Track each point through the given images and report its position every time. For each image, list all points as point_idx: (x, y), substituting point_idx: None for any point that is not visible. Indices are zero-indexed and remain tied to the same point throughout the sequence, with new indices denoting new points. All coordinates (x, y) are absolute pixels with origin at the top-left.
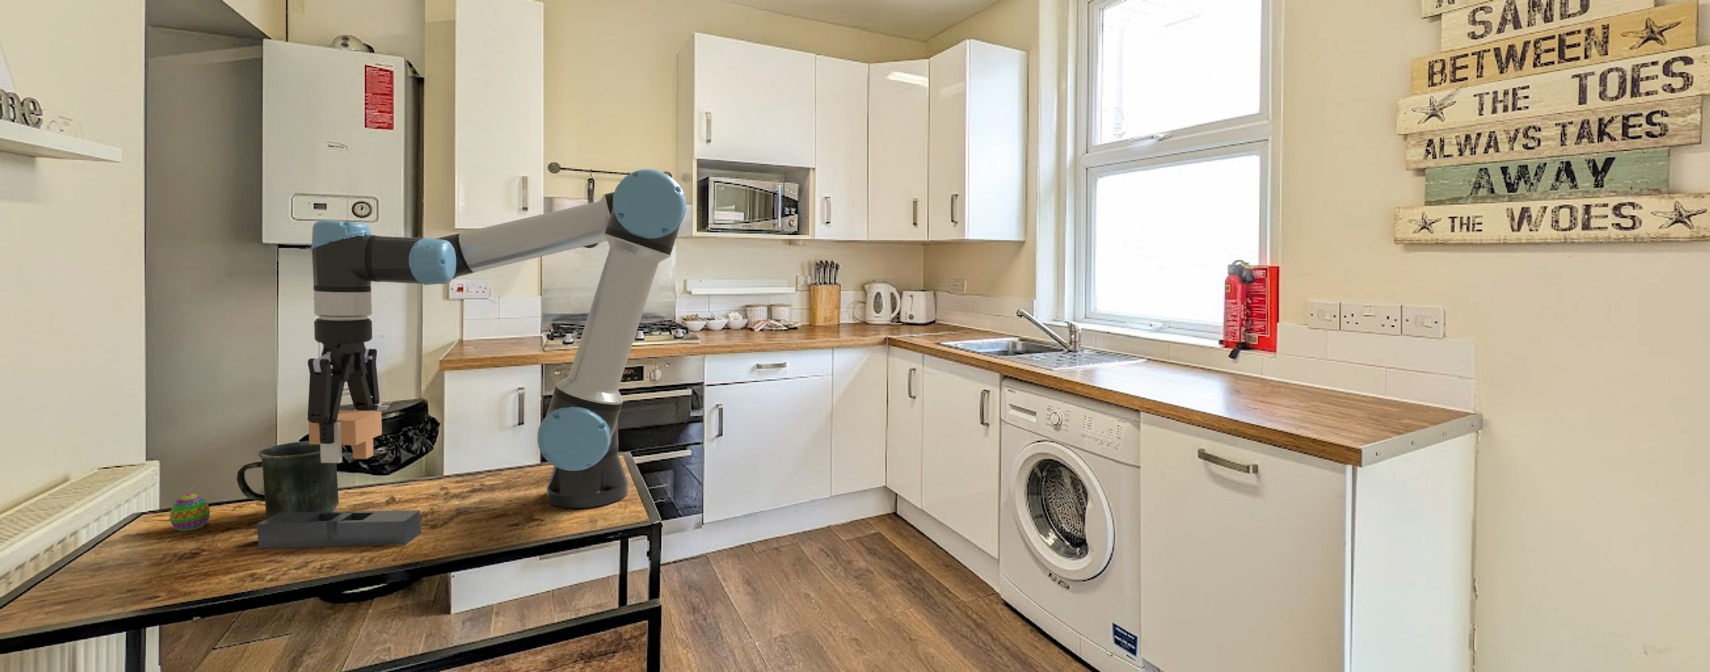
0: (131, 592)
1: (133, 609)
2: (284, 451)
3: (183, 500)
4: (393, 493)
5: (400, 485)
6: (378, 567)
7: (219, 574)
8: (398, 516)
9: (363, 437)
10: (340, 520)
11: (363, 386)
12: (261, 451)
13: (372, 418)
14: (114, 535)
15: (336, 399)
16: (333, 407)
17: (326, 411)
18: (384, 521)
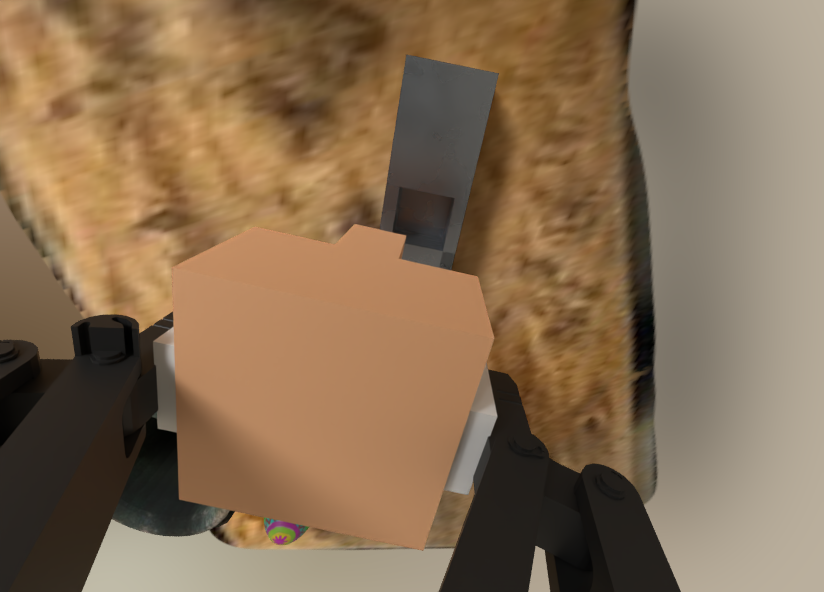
0: (558, 454)
1: (629, 429)
2: (131, 497)
3: (295, 535)
4: (116, 231)
5: (57, 233)
6: (620, 102)
7: (530, 379)
8: (449, 106)
9: (412, 270)
10: (440, 250)
11: (24, 546)
12: (181, 534)
13: (298, 282)
14: (319, 547)
15: (524, 587)
16: (536, 529)
17: (638, 534)
18: (482, 134)
